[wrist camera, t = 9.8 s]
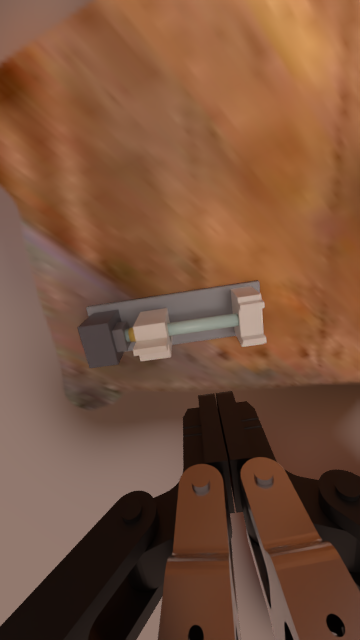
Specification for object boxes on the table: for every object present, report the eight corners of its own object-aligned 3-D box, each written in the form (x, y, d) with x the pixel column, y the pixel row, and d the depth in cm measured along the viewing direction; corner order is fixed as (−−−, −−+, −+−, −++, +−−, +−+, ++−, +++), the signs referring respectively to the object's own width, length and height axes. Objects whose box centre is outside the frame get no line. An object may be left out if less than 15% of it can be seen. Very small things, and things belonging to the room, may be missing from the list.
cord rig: (257, 280, 39) (274, 290, 32) (260, 330, 41) (276, 349, 34) (88, 306, 40) (68, 321, 33) (101, 352, 43) (85, 376, 36)
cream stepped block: (167, 307, 38) (163, 329, 30) (172, 337, 40) (170, 366, 31) (140, 311, 38) (129, 334, 30) (146, 341, 40) (137, 370, 32)
